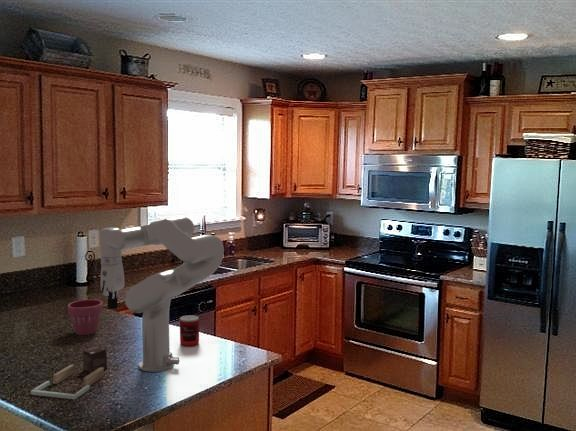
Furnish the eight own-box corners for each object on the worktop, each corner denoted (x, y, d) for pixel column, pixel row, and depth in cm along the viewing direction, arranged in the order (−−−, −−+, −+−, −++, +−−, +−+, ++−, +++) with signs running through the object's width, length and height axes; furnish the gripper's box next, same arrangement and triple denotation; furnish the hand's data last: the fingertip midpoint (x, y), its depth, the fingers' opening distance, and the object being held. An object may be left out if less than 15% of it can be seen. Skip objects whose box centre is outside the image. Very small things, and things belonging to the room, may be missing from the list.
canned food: (191, 339, 239) (191, 313, 237) (203, 344, 233) (202, 317, 232) (176, 343, 233) (175, 317, 232) (187, 348, 228) (187, 321, 226)
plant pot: (61, 334, 244) (60, 305, 243) (84, 325, 257) (83, 297, 256) (88, 338, 239) (87, 308, 238) (110, 329, 252) (109, 300, 251)
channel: (104, 375, 199) (103, 367, 199) (87, 387, 189) (87, 378, 189) (71, 372, 202) (70, 364, 201) (53, 383, 192) (53, 374, 192)
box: (98, 365, 209) (97, 345, 209) (107, 368, 206) (106, 349, 205) (83, 369, 205) (82, 349, 204) (92, 373, 201) (91, 353, 200)
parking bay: (90, 388, 188) (90, 385, 188) (74, 399, 180) (74, 395, 179) (47, 384, 191) (47, 380, 191) (30, 394, 183) (30, 390, 183)
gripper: (109, 264, 206) (111, 314, 208) (130, 257, 220) (131, 304, 222) (91, 263, 207) (92, 312, 209) (112, 256, 222) (114, 302, 224)
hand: (112, 308), depth 216 cm, fingers closed
